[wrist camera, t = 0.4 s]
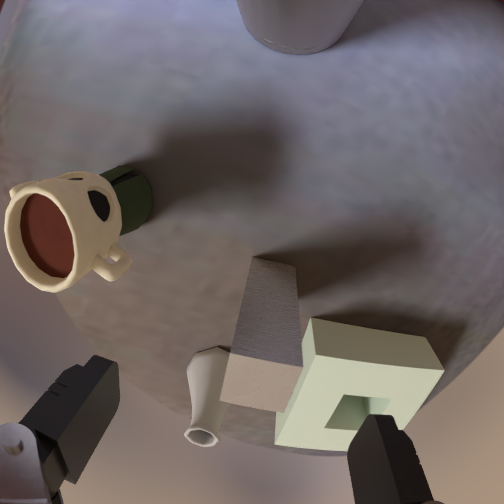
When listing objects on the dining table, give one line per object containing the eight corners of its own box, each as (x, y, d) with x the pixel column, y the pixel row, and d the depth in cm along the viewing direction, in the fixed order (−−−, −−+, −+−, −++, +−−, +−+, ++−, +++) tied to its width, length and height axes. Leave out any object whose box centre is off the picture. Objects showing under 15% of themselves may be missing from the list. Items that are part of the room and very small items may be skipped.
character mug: (189, 199, 28) (123, 249, 16) (153, 258, 30) (84, 331, 18) (101, 137, 26) (3, 149, 14) (73, 197, 29) (-18, 236, 16)
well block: (310, 317, 31) (315, 354, 25) (425, 337, 31) (444, 370, 25) (276, 407, 36) (274, 444, 30) (376, 417, 36) (384, 451, 30)
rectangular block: (252, 256, 29) (230, 353, 16) (294, 266, 29) (303, 367, 16) (244, 294, 31) (219, 400, 17) (284, 302, 30) (283, 412, 17)
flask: (263, 374, 34) (257, 443, 25) (221, 400, 36) (206, 463, 27) (216, 335, 33) (195, 403, 23) (176, 366, 35) (150, 429, 26)
